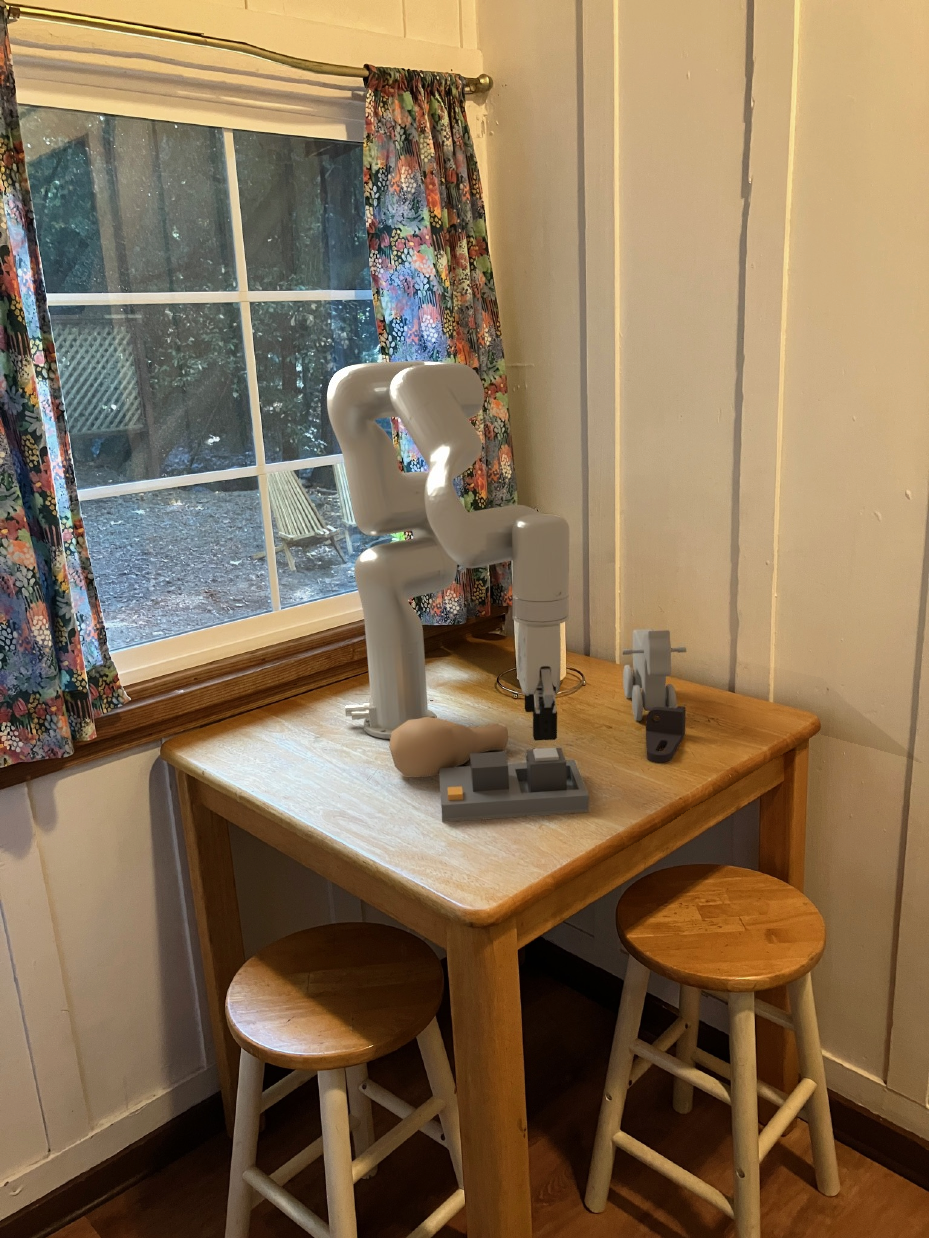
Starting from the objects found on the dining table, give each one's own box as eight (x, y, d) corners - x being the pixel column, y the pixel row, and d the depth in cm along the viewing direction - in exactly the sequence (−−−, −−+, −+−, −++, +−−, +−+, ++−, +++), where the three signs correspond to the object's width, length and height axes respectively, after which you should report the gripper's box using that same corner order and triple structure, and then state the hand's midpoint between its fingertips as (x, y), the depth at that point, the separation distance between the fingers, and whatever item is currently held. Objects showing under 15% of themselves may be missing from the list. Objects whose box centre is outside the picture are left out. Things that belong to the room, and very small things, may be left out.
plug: (531, 800, 134) (530, 761, 132) (527, 785, 139) (526, 746, 137) (567, 798, 134) (566, 758, 132) (561, 783, 139) (560, 744, 137)
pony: (692, 731, 156) (693, 632, 152) (628, 733, 157) (628, 634, 152) (669, 689, 176) (670, 600, 171) (612, 692, 176) (611, 603, 172)
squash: (376, 775, 146) (373, 717, 146) (481, 756, 158) (478, 701, 158) (415, 787, 138) (412, 724, 137) (523, 765, 149) (520, 707, 149)
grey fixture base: (442, 821, 130) (439, 781, 129) (439, 783, 142) (437, 746, 140) (589, 812, 131) (588, 771, 129) (574, 774, 142) (574, 737, 141)
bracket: (630, 761, 147) (630, 731, 145) (649, 731, 158) (649, 703, 156) (669, 766, 145) (669, 735, 143) (685, 735, 156) (685, 706, 154)
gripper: (506, 591, 137) (507, 702, 143) (519, 628, 121) (520, 752, 126) (558, 589, 138) (557, 700, 143) (578, 625, 121) (577, 750, 126)
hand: (540, 724), depth 134 cm, fingers open, 9 cm apart
